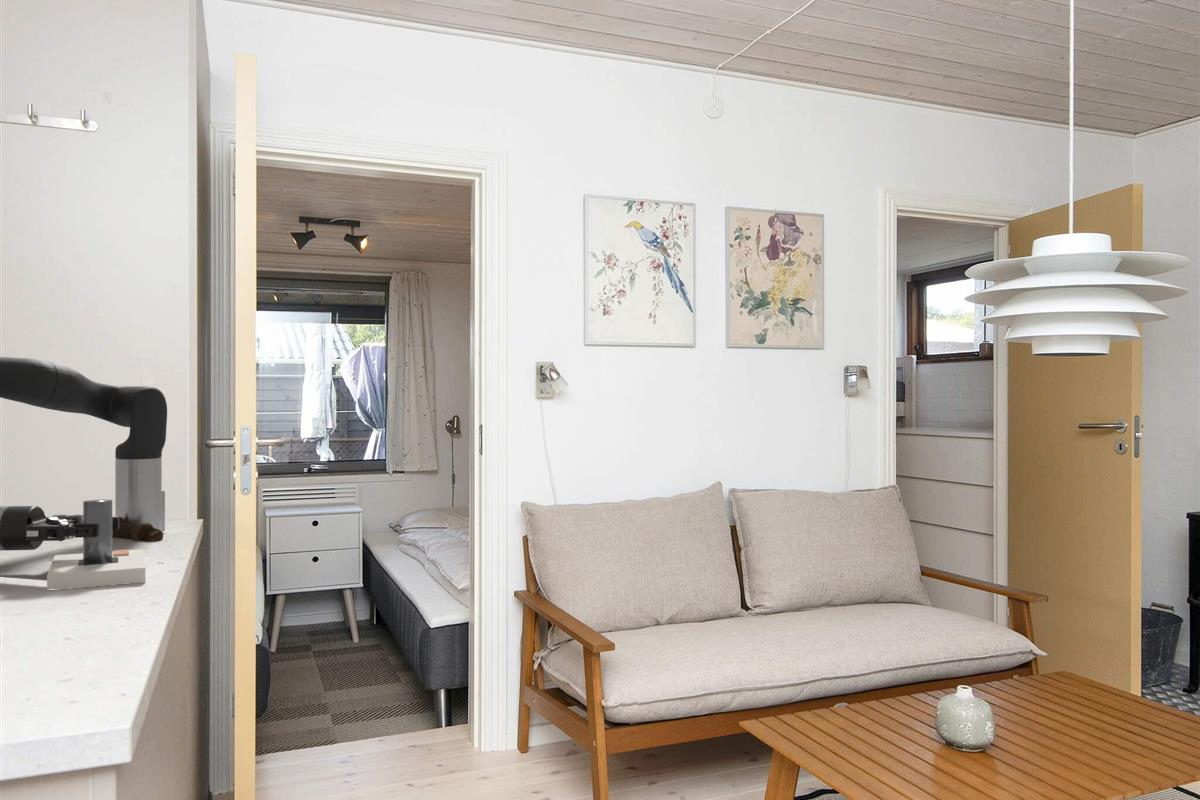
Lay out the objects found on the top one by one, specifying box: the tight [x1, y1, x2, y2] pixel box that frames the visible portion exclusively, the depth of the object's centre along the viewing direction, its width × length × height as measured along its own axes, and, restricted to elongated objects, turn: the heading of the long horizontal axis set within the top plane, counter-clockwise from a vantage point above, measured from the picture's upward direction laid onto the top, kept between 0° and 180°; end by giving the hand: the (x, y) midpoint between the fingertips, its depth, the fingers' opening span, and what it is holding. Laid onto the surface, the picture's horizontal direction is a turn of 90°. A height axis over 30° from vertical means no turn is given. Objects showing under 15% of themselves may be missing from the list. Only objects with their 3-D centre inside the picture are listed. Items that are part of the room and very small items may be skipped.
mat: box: [46, 549, 83, 562], centre depth 168 cm, size 10×10×1 cm
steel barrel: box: [82, 498, 113, 565], centre depth 153 cm, size 4×4×13 cm
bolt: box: [112, 517, 164, 542], centre depth 188 cm, size 6×5×15 cm
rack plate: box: [46, 548, 146, 591], centre depth 153 cm, size 20×14×3 cm
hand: (109, 526), depth 154 cm, fingers open, 8 cm apart
